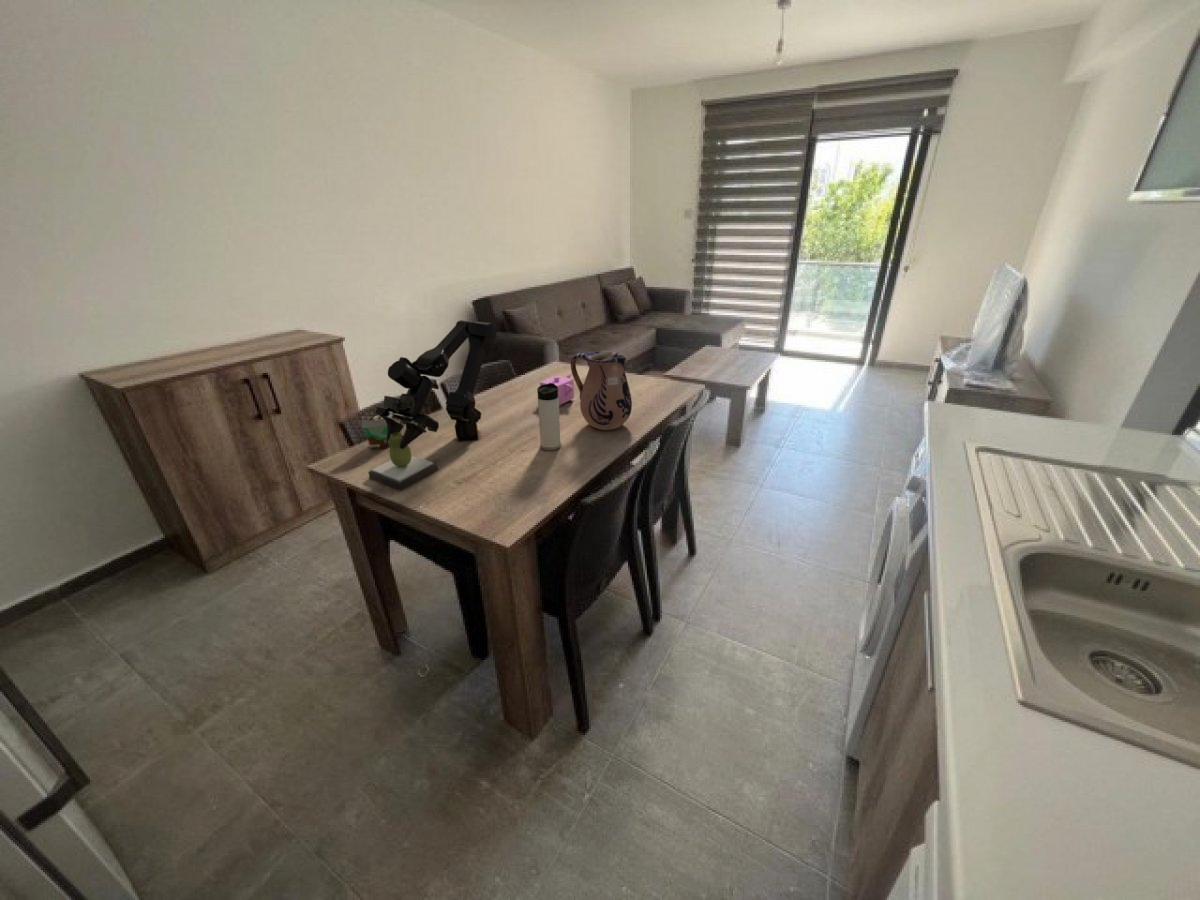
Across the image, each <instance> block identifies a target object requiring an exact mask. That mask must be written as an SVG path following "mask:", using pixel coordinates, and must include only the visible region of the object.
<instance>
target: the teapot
mask: <svg viewBox="0 0 1200 900" xmlns="http://www.w3.org/2000/svg"><path fill="white" fill-rule="evenodd" d="M571 376H573V375H572V373H568V374H567V376H565V377H564V376H560V375H553V376H551V377H549V378H546V379H544V380H542V381H540V382H539V386H541V385H545V384H549V383H554V384H555V385H556V386H557V387H558V399H559V407H560V406H563V404H566V403H569V402H570V401H571V400H573V399H574V398H575V386H574V384H575V383H574V382H575V380H574V378H571Z"/></svg>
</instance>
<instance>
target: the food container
mask: <svg viewBox="0 0 1200 900" xmlns="http://www.w3.org/2000/svg"><path fill="white" fill-rule="evenodd" d="M361 428H362V429H363V430H364V432H365V435H366V438H367V442H368V445H369V448H370V450H381V449H386V448H390V446H389V445H387V444H386V442H387V423H386V421H385V419H383V417H381V416H379V415H377V414H375V415H373V416H372V417H371V418H370V419H369V420H361Z"/></svg>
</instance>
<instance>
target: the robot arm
mask: <svg viewBox="0 0 1200 900" xmlns="http://www.w3.org/2000/svg"><path fill="white" fill-rule="evenodd" d="M497 335H498V330H497V328H496V326H495V325H494V323H491V322H481V321H471V320H464V319H463V320H462V319H460V320H458V321H456V323H455V326H454V327H453V328H451V330H450V331H449V332H448V333H447V334H446V335H445V337H443V339H442V340H441V341H440V342H439V343H438V344H437V345H436V346H435V347H434V348H431V349H428V350H425V351H424V352H423V353H422V354H420V355H419V356H418V357H417V358H416V360H414V361H412V362H411V361H410V359H408V358H407V357H403V356H400V357H399V359H398V360H396V361H395V362H393V363H391V365H390V366H389V367H388V369H387V376H388V378H389V379H391V380H392V381H394V382H395V383H397V384H398V385H399V386H401V387H402V388H404V389H406V390H407V391H406V393H402V394H400V396H399V397H398V396H390V395H384V397H383V403H382V405H379V406H377V407H376V409H375V411H374V414H375V415H379V416H381V417H383V419H385V421H386V423H387V442H386V444H387V445H388V441H389V438H390V435H391V434H393V433H395V432H397V433H398V432H400V433H401V432H402V430H403V429H404V427H405V431H404V434H403V435H402V436H403V438H402V441H401V444H400V448H401V449H404V448H405V447H406V446H407V445H408V446H409V445H410V444H411V443H412V442H414V441H415V440H416V439H417V438H418V437H420V436H422V435H423V434H426V433H427V430H428V431H429V432H433V433H437V432H438V430H439V428H440V426H439V422H438V421H437V420H436V419H434V418H432V417H431V416H429V415H427V414H422V413H423V411H424V409H428V407H429V404H428V399H429V397H430V394H431V393H432V390H434V389H435V390H439V389H440V387H439V384H438V382H437V379H434V377H435V378H440V377H442V376H443V375H444V373H445V372H446V370H447V369H448V367H449V366H450V365H449V363H450V359H451V357H452V356H453V355H454V354H455V353H456V352H457V351H458V350H459V348H460V347H461V346H462V345H463V344H464V343H465V342H466V340H467V339H468V343H469V349H468V352H467V355H466V359H465V363H464V366H463V369H462V373H461V376H460V379H459V383H458V386H457V389H455V391H449V393H448V396H447V400H446V401H445V410H446V412H447V414H448V416H449V418H450V420H452V421H455V423H454V430H455V437H456V438H457V441H458V442H464V441H465V442H466V441H473V440H474V441H475V440H479V435H480V433H479V431H480V430H479V429H478V423H479V421H480V420H481V419H482V412H481V411H480V410H478V409H477V408H476V399H475V394H474V392H475V389H476V385H477V382H478V380H479V379H478V378H479V376H480V371H481V369H482V365H483V362H484V359H485V354H486V352H487V351H488V350H489V349H490V348H491V347H492V346H493V345H494V342H495V341H496V338H497ZM428 376H430V377H433V378H430V377H428ZM401 422H404V423H405V425H403V424H401ZM426 429H427V430H426Z"/></svg>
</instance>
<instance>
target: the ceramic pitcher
mask: <svg viewBox="0 0 1200 900" xmlns="http://www.w3.org/2000/svg"><path fill="white" fill-rule="evenodd" d="M580 359H582V361H585V362H586V363H587V366H588V371H587V374H586V377H585V379H584V381H583V382H582V379H581V378H580V375H579V374H578V371H577V365H576V364H577V363H576V362H577V361H578V360H580ZM626 359H627V358H626V356H625V355H622V354H619V351H616V350H596V351H592V352H578V353H576V354H574V355H573V357H572V358H571V360H570V371H571V374H572V375H571V376H572V377H573V379H574V382H575V385H576V386H577V389H578V392H579V400H580V401H579V404H580V405H579V409H580V412H581V415H582V417H583V419H584V420H585V421H586V423H588V425H589V426H591V427H592V428H595V429H597V430H600V431H612V430H615V429H618V428H620V427H622V426H623V425H624V424H625V423H626V422H627V421H628V420H629V418H630V416H631V414H632V410H633V409H632V408H633V401H632V400H633V399H632V395H631V389H630V386H629V383H628V378H627V375H626V370H625V369H626V368H625V364H626Z"/></svg>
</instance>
